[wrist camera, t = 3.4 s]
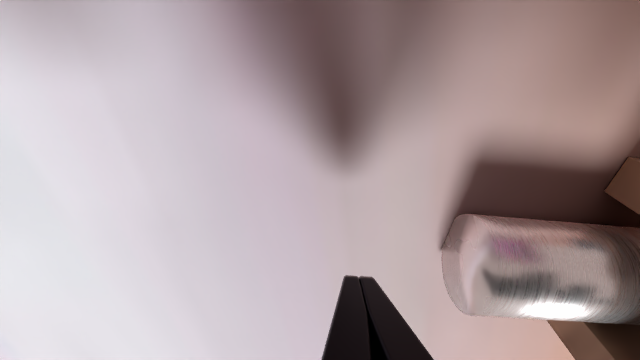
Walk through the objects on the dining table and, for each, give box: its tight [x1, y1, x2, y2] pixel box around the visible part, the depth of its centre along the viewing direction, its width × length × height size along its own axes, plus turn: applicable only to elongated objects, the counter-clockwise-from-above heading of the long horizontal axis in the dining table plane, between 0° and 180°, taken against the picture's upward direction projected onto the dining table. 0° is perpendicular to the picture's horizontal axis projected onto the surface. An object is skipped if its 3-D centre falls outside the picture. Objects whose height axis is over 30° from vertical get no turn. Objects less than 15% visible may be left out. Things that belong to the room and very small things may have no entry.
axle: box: [442, 214, 640, 325], centre depth 11 cm, size 9×3×3 cm, turn 83°
